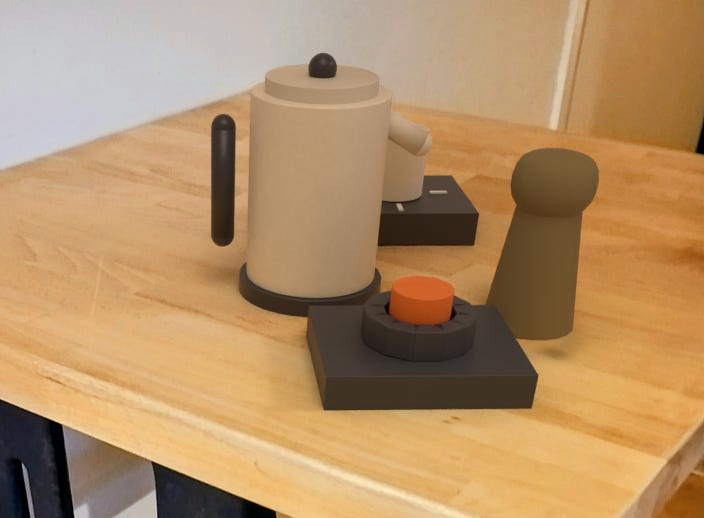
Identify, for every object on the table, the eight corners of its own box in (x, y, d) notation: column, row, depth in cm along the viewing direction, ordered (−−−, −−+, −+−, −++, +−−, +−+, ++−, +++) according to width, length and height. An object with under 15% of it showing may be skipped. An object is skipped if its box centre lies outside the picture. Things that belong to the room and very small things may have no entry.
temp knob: (415, 183, 85) (423, 116, 81) (426, 202, 81) (435, 131, 78) (358, 183, 84) (363, 116, 81) (366, 202, 81) (373, 131, 77)
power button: (443, 303, 62) (447, 275, 61) (456, 328, 59) (460, 299, 58) (384, 303, 62) (387, 275, 60) (394, 328, 59) (397, 299, 58)
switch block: (489, 336, 67) (499, 277, 64) (531, 409, 58) (545, 345, 56) (306, 337, 66) (309, 278, 64) (323, 411, 58) (328, 346, 56)
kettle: (401, 263, 77) (427, 38, 68) (427, 317, 69) (461, 70, 60) (209, 264, 76) (209, 37, 67) (212, 319, 68) (213, 69, 59)
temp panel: (447, 204, 88) (452, 173, 87) (474, 245, 80) (479, 211, 79) (309, 204, 88) (311, 173, 86) (322, 245, 80) (325, 211, 78)
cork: (500, 344, 66) (532, 168, 59) (468, 307, 70) (494, 140, 64) (588, 338, 66) (630, 164, 60) (550, 302, 71) (585, 137, 65)
